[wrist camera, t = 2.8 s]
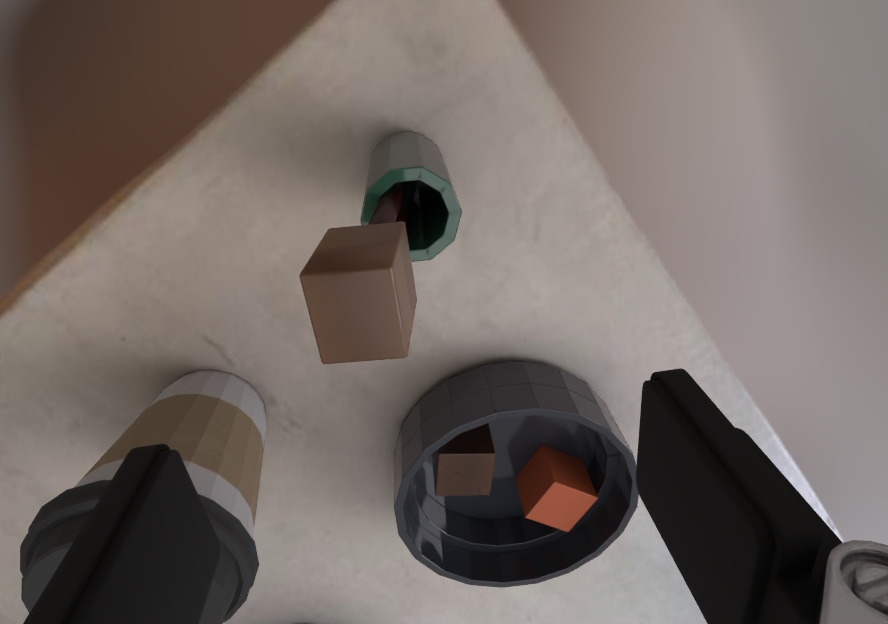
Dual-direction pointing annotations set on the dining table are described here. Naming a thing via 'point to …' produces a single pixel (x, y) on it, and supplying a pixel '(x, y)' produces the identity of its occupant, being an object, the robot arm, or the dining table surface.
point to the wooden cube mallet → (364, 285)
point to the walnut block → (465, 464)
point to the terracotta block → (555, 488)
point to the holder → (433, 197)
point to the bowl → (510, 475)
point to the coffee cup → (209, 466)
